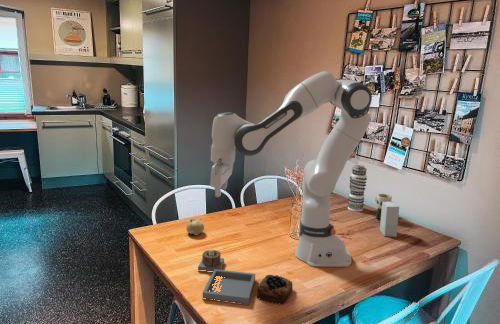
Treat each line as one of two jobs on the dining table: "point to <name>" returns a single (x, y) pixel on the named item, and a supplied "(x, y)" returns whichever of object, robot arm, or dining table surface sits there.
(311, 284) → the dining table surface
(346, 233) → the dining table surface
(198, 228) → the onion
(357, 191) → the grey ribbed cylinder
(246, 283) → the tray
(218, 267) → the grey peg stand
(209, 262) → the ring
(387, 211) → the skincare box
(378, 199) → the character mug
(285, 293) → the pastry
